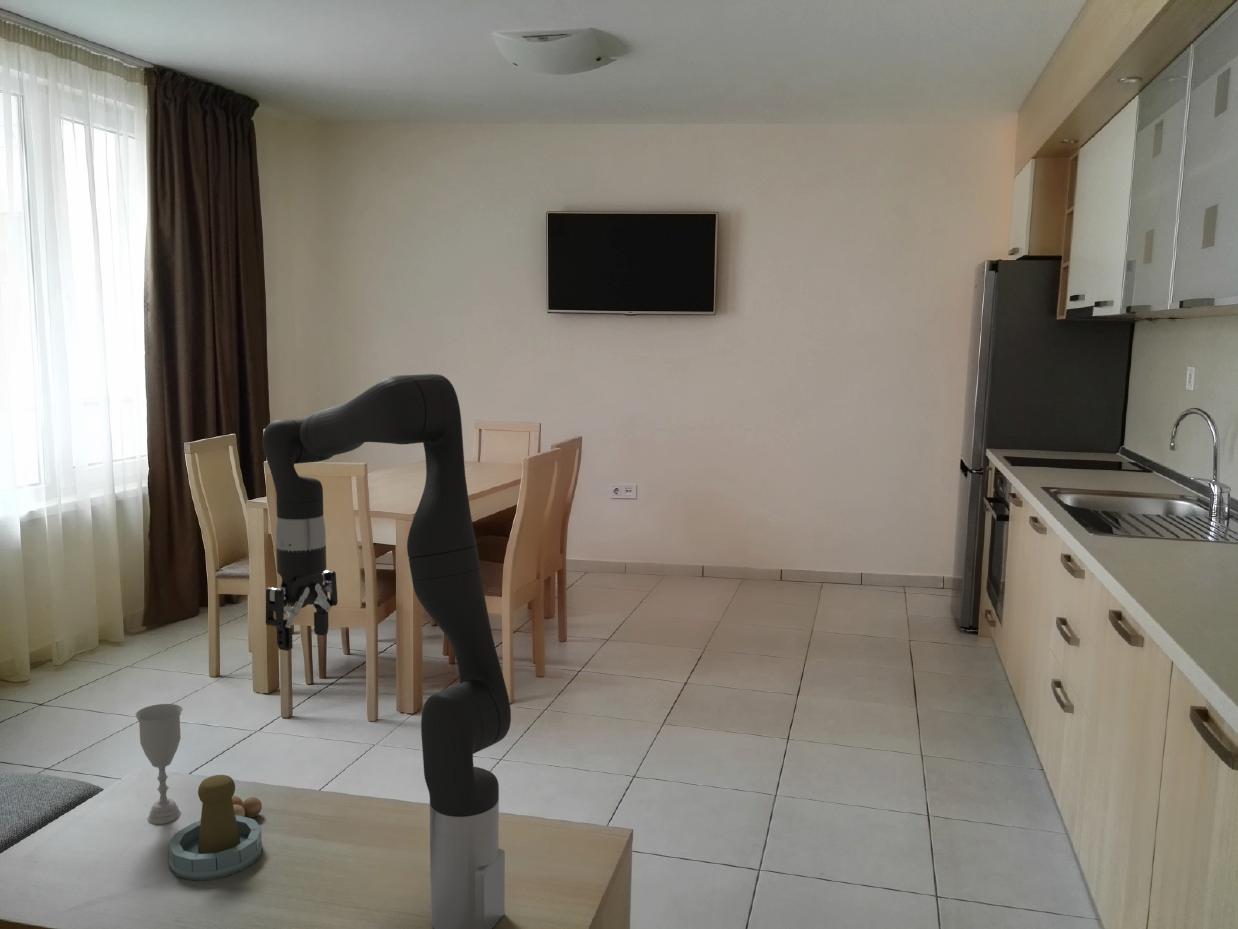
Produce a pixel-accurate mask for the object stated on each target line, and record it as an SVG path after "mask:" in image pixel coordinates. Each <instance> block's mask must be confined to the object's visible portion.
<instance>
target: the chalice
mask: <svg viewBox="0 0 1238 929" xmlns="http://www.w3.org/2000/svg"><path fill="white" fill-rule="evenodd" d="M183 710H184V709H183V707H182V706H180V705H178V704H173V703H160V704H154V705H149V706H145V707H143V708H141V709H139V710H138V711H136V713H135V718H136V719H137V720H138V726H139V743H140V746H141V747H142V750H143V753H144V755H145V756H146V758H147V759H148V761H149V762H150V764H151V766H152V767H154V768H158V776H157V778H156V780H158V782H159V786H158V787H157V791H158V792H159V794H160V795H159V796H160V797H159V799H157V801H156V802H154V803H153V804H152V806H151V808H150V809H151V810H150V811H149V815H148V816H147V818H146V820H147V822H148V821H149V822H148V823H149V824H153V825H154V824H155V825H160V824H162V825H163V824H167V823H170V822H173V821H176V820H178V819H179V818H180V817H181V815H182V811H181V810H180V809H179V806H178V804H177V803H176V801H174V800H173V799H171V798H168V796H167V791H168V789H170V786H168V785H167V783H166V782H167V779H168V775H167V774H166V773H167V772H166V767H168V766H170V765H171V763H172V762H173V760H174V757H175V755H176V753H177V750H178V748H179V745H180V741H181V739H182V738H181V736H182V735H181V718H180V716H181V714H182V712H183Z"/></svg>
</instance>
